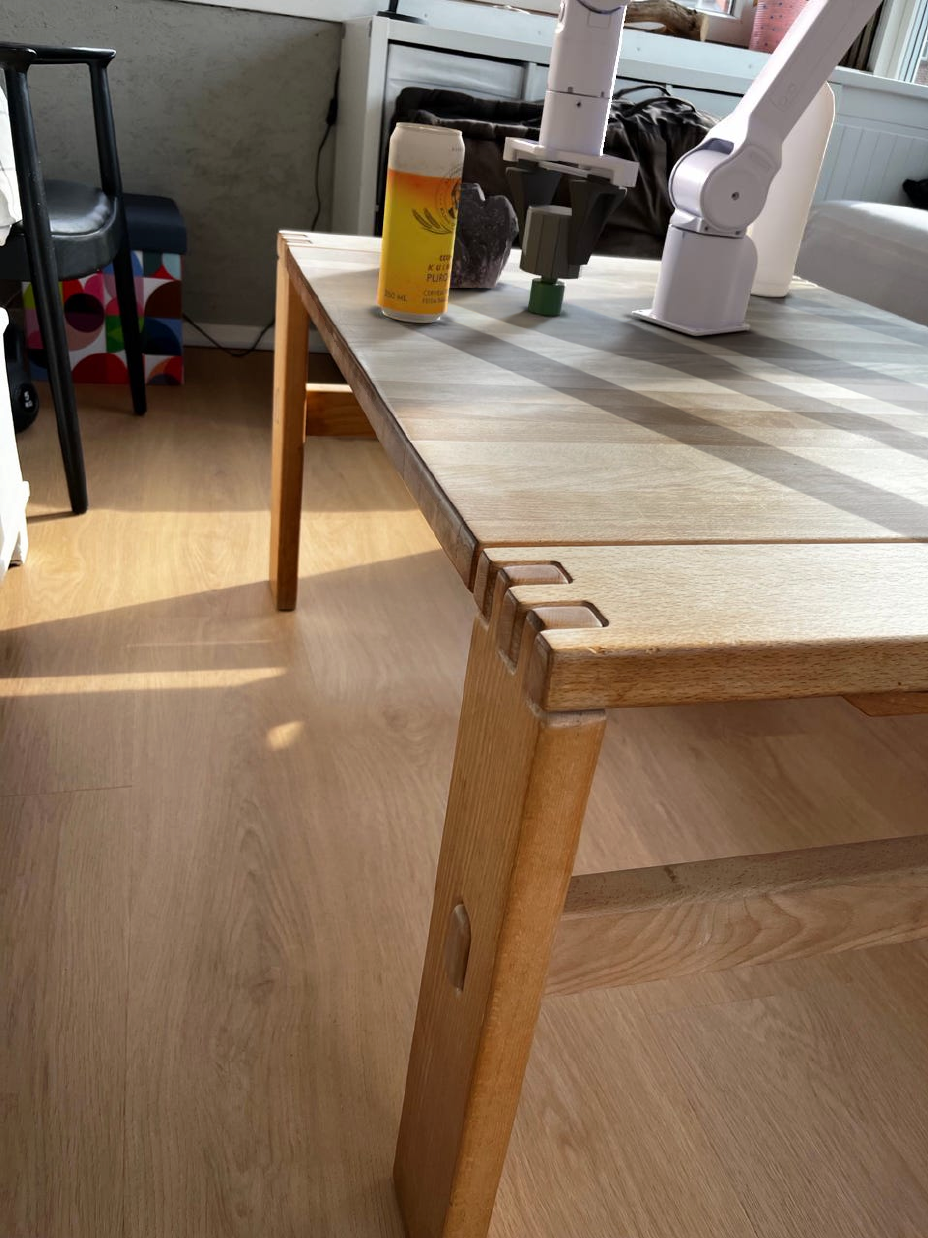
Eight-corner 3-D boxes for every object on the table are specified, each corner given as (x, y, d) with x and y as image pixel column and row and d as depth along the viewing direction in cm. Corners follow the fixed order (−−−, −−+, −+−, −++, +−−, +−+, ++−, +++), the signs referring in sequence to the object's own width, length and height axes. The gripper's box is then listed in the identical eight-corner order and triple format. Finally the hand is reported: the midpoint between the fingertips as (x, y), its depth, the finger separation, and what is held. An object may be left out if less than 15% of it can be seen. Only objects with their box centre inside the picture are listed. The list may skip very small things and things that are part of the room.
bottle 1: (543, 306, 100) (551, 259, 98) (567, 314, 98) (575, 267, 96) (520, 308, 98) (527, 260, 96) (544, 316, 96) (552, 268, 94)
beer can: (437, 328, 87) (458, 134, 79) (367, 316, 87) (382, 122, 80) (451, 314, 92) (473, 131, 85) (386, 303, 93) (402, 120, 85)
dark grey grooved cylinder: (548, 264, 100) (558, 204, 97) (592, 277, 96) (603, 216, 94) (507, 266, 96) (516, 203, 93) (551, 280, 93) (561, 215, 90)
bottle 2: (796, 293, 125) (873, 9, 110) (775, 300, 119) (854, 1, 104) (734, 279, 128) (801, 2, 114) (711, 285, 122) (779, -6, 108)
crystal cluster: (355, 281, 102) (367, 177, 97) (402, 252, 113) (415, 156, 108) (481, 317, 100) (500, 212, 95) (516, 283, 111) (536, 187, 106)
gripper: (488, 80, 91) (469, 240, 97) (612, 101, 82) (581, 275, 89) (543, 87, 95) (520, 240, 102) (665, 107, 86) (633, 273, 93)
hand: (552, 256), depth 95 cm, fingers closed on dark grey grooved cylinder, 5 cm apart
